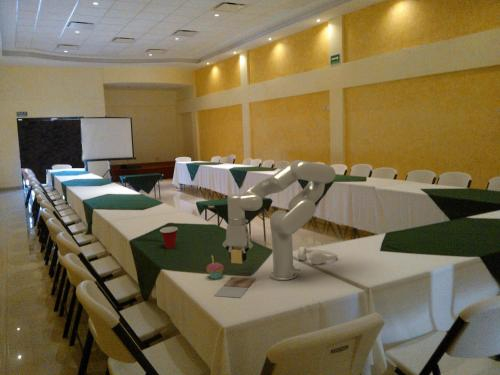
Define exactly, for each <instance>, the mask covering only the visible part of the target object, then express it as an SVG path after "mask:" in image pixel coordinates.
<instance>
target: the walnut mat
mask: <svg viewBox="0 0 500 375" xmlns="http://www.w3.org/2000/svg"><path fill="white" fill-rule="evenodd" d="M256 279H257V278H253V277H241V276H240V277H239V276H238V277H236V276H231V277H230V278H229V279H228V280H227V282H225V283H224V285H223V286H229V287H243V288H248V289H249V288H250V287H251V286H252V285H253V284H254V282H255V281H256Z"/></svg>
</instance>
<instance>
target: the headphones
mask: <svg viewBox="0 0 500 375" xmlns="http://www.w3.org/2000/svg"><path fill="white" fill-rule="evenodd" d="M307 254H308V255H309V256H308V260H309V262H310V263H312V264H314V265H315V266H318V265H321V264H323V263H325V262H328V261H329V262H330V261H331V262H332V261H336V260H337V259H338V254H337V253H335V252H332V251H328V250H323V249H318V248H316V249H313V248H307V247H306V246H300V247H299V248H298V251H297V259H298V260H300V261H305V260H306V257H307Z"/></svg>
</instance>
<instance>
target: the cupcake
mask: <svg viewBox="0 0 500 375" xmlns="http://www.w3.org/2000/svg"><path fill="white" fill-rule="evenodd" d="M211 261H212V262H211V263H209V264H207V266H206V268H205V270H206V272H207V273H208V274H209V276H210V279H211V280H219V279H221V277H222V273H223V271H224V270H225V267H224V265H223V263H220V262H217V261H216V262H215V260H214V255H211Z"/></svg>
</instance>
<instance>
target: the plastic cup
mask: <svg viewBox="0 0 500 375" xmlns="http://www.w3.org/2000/svg"><path fill="white" fill-rule="evenodd" d="M178 228H179V227H176V226H166V227H163V228H161V229H160V230H159V232H160V233H161V236H162V239H163V243H164V247H165V249H167V250H169V249H170V250H171V249H174V248H176V243H177V234H178Z"/></svg>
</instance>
